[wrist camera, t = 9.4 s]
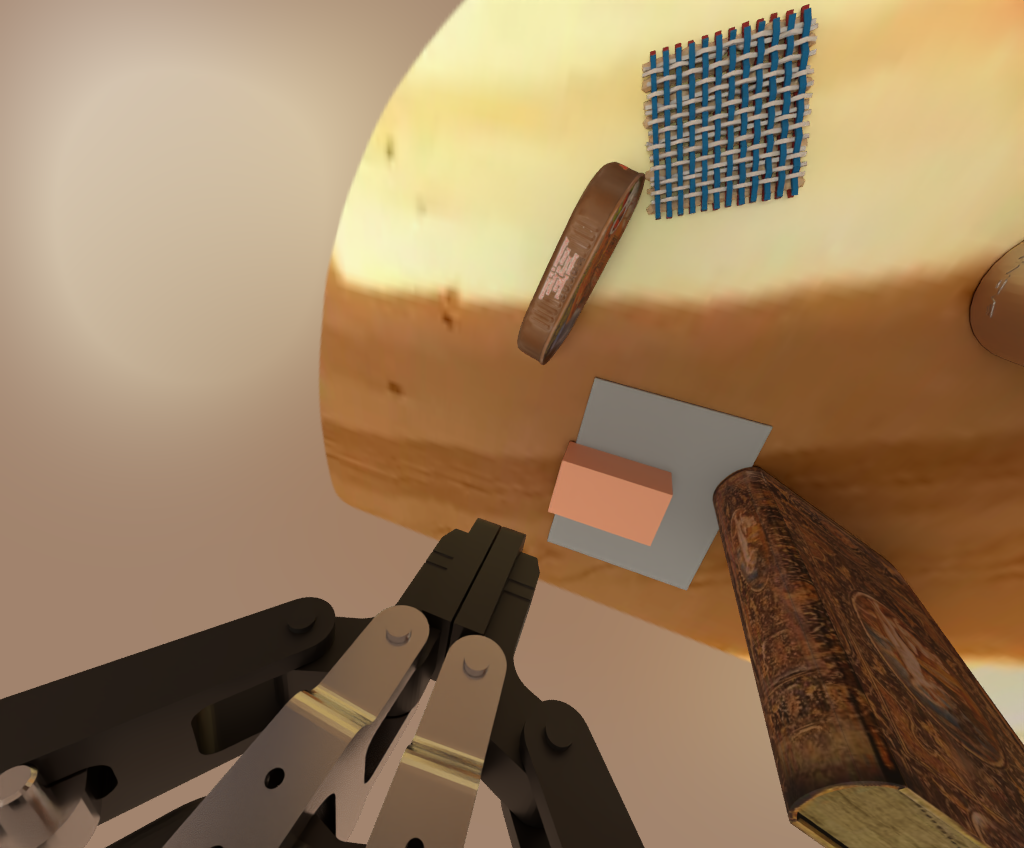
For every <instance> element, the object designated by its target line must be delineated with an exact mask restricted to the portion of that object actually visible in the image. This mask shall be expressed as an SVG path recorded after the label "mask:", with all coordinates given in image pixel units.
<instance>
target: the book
mask: <svg viewBox="0 0 1024 848" xmlns="http://www.w3.org/2000/svg"><path fill="white" fill-rule="evenodd" d="M713 505H714V509H715V513H716V517H717V522H718V526H719V530H720V534H721V538H722V542H723V547H724V551H725V555H726V559H727V563H728V567H729V572H730V576H731V580H732V584H733V588H734V592H735V597H736V601H737V605H738V609H739V613H740V617H741V622H742V626H743V630H744V634H745V638H746V642H747V647H748V651H749V655H750V659H751V663H752V667H753V672H754V676H755V680H756V684H757V688H758V692H759V696H760V701H761V705H762V709H763V713H764V717H765V722H766V726H767V729H768V734H769V738H770V742H771V747H772V750H773V755H774V759H775V763H776V767H777V772H778V775H779V780H780V784H781V788H782V792H783V797H784V801H785V804H786V809H787V813H788V817H789V821H790V823H791V824H792V825H794V826H795V827H797V828H798V829H799V830H801V831H802V832H804V833H805V834H807V835H808V836H810V837H811V838H812V839H814V840H815V841H817V842H818V843H819V844H821V845H822V846H824V847H825V848H1024V745H1023V743H1022V742H1021V740H1020V739H1019V738H1018V736H1017V735H1016V734H1015V732H1014V731H1013V729H1012V728H1011V727H1010V725H1009V724H1008V722H1007V721H1006V720H1005V718H1004V717H1003V715H1002V714H1001V713H1000V711H999V710H998V709H997V707H996V706H995V704H994V703H993V702H992V700H991V699H990V697H989V696H988V695H987V693H986V692H985V690H984V689H983V688H982V686H981V685H980V684H979V682H978V681H977V679H976V678H975V677H974V675H973V674H972V672H971V671H970V670H969V668H968V667H967V665H966V664H965V663H964V661H963V660H962V659H961V657H960V656H959V654H958V653H957V652H956V650H955V649H954V647H953V646H952V645H951V643H950V642H949V640H948V639H947V638H946V636H945V635H944V634H943V632H942V631H941V629H940V628H939V627H938V625H937V624H936V622H935V621H934V620H933V618H932V617H931V615H930V614H929V613H928V611H927V610H926V609H925V607H924V606H923V604H922V603H921V602H920V600H919V599H918V597H917V596H916V595H915V593H914V592H913V590H912V589H911V588H910V586H909V585H908V584H907V582H906V581H905V580H904V578H903V577H902V576H901V575H900V573H899V572H898V571H897V570H896V569H895V568H894V566H893V565H891V564H890V563H889V562H888V561H887V560H886V559H884V558H883V557H881V556H880V555H879V554H877V553H876V552H875V551H873V550H872V549H871V548H869V547H868V546H867V545H865V544H864V543H863V542H861V541H860V540H859V539H857V538H856V537H854V536H853V535H852V534H850V533H849V532H848V531H846V530H845V529H843V528H842V527H841V526H839V525H838V524H837V523H835V522H834V521H832V520H831V519H830V518H828V517H827V516H826V515H824V514H823V513H821V512H820V511H819V510H817V509H816V508H814V507H813V506H812V505H810V504H809V503H808V502H806V501H805V500H803V499H802V498H801V497H799V496H798V495H797V494H795V493H794V492H792V491H791V490H790V489H788V488H787V487H786V486H784V485H783V484H781V483H780V482H779V481H777V480H776V479H774V478H773V477H772V476H770V475H769V474H768V473H766V472H765V471H763V470H762V469H761V468H760V467H747V468H743V469H740V470H737V471H735V472H733V473H732V474H730V475H729V476H727V477H726V478H725V479H724V480H722V481H721V482H720V484H719V485H718V486H717V487H716V489H715V491H714V493H713Z"/></svg>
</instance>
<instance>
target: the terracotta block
mask: <svg viewBox="0 0 1024 848" xmlns="http://www.w3.org/2000/svg"><path fill="white" fill-rule="evenodd" d="M672 496H673V490H672V474H671V472H668V471H665V470H661V469H658V468H655V467H652V466H648V465H645V464H642V463H639V462H636V461H632V460H629V459H626V458H623V457H619V456H616V455H613V454H610V453H606V452H603V451H600V450H597V449H593V448H590V447H587V446H584V445H580V444H577V443H574V442H571V441H570V442H569V445H568V447H567V450H566V453H565V455H564V458H563V460H562V464H561V467H560V471H559V474H558V478H557V481H556V485H555V488H554V492H553V495H552V499H551V502H550V506H549V509H548V512H551V513H554V514H557V515H560V516H563V517H566V518H568V519H571V520H574V521H577V522H580V523H583V524H586V525H589V526H592V527H595V528H598V529H601V530H604V531H606V532H609V533H612V534H615V535H618V536H621V537H624V538H627V539H630V540H633V541H636V542H639V543H642V544H644V545H647V546H651V544H652V541H653V539H654V537H655V535H656V532H657V530H658V528H659V526H660V523H661V521H662V519H663V517H664V514H665V512H666V510H667V508H668V505H669V503H670V501H671V499H672Z"/></svg>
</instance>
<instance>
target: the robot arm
mask: <svg viewBox="0 0 1024 848" xmlns="http://www.w3.org/2000/svg"><path fill="white" fill-rule="evenodd" d="M970 322H971V326H972V329H973V332H974V335H975V336H976V338H977V339H978V341H979V342H980V344H981V345H982V346H984V347H985V348H986V349H987V350H989V351H990V352H991V353H993V354H995V355H997V356H999V357H1002V358H1004V359H1006V360H1009V361H1011V362H1014V363H1016V364H1019V365H1022V366H1024V241H1023V242H1022V243H1020V244H1019V245H1017V246H1016V247H1014V248H1013V249H1011V250H1010V251H1009V252H1007V253H1006V254H1005V255H1004V256H1003V257H1002V258H1001V259H1000V260H999V261H997V262H996V263H995V264H994V265H993V267H992V268H991V269H990V270H989V272H988V273H987V274H986V275H985V277H984V278H983V279H982V281H981V283H980V285H979V286H978V288H977V290H976V292H975V294H974V298H973V301H972V305H971V308H970ZM525 538H526V534H523V533H520V532H517V531H515V530H512V529H509V528H506V527H501V526H500V525H497V524H494V523H492V522H489V521H486V520H483V519H480V518H478V519H477V520H476V522H475V523H474V525H473V527H472V528H471V530H470V532H469V533H467V532H464V531H461V530H458V529H455V530H453V531H451V532H450V533H448V534H447V535H445V536H443V537H442V538H441V540H440V541H439V543H438V544H437V546H436V547H435V549H434V550H433V552H432V553H431V554H430V556H429V557H428V559H427V560H426V563H424V565H423V566H422V567H421V569H420V570H419V572H418V573H417V575H416V576H415V578H414V579H413V581H412V582H411V584H410V585H409V587H408V588H407V589H406V591H405V593H404V594H403V595H402V597H401V598H400V600H399V602H397V604H396V605H395V606H392V607H389V608H386V609H385V610H383V611H381V612H380V613H378V614H377V615H376V616H375V617H372V618H365V619H358V618H345V617H335V613H334V610H333V608H332V607H331V605H330V604H329V603H328V602H326V601H324V600H322V599H319V598H313V597H306V598H301V599H296V600H293V601H290V602H287V603H284V604H281V605H279V606H275V607H273V608H270V609H266V610H264V611H260V612H258V613H255V614H252V615H249V616H246V617H243V618H240V619H237V620H234V621H231V622H228V623H225V624H222V625H219V626H216V627H213V628H210V629H207V630H205V631H201V632H198V633H196V634H192V635H189V636H187V637H184V638H181V639H178V640H175V641H172V642H169V643H166V644H163V645H160V646H157V647H154V648H151V649H148V650H145V651H142V652H139V653H136V654H134V655H130V656H127V657H125V658H121V659H118V660H116V661H113V662H110V663H107V664H104V665H101V666H98V667H95V668H92V669H89V670H86V671H83V672H80V673H77V674H75V675H71V676H68V677H65V678H63V679H59V680H56V681H53V682H50V683H48V684H45V685H42V686H39V687H36V688H33V689H30V690H27V691H24V692H21V693H18V694H15V695H12V696H9V697H6V698H4V699H1V700H0V848H84V847H85V845H86V844H87V843H88V841H89V840H90V838H91V837H92V835H93V833H94V831H95V829H96V827H97V826H98V825H100V824H102V823H104V822H106V821H108V820H110V819H112V818H114V817H116V816H118V815H120V814H122V813H124V812H126V811H128V810H130V809H132V808H134V807H136V806H139V805H141V804H143V803H145V802H146V801H149V800H150V799H152V798H154V797H157V796H159V795H161V794H163V793H165V792H167V791H169V790H171V789H173V788H175V787H177V786H179V785H181V784H183V783H185V782H187V781H189V780H191V779H193V778H195V777H197V776H199V775H201V774H203V773H205V772H207V771H209V770H211V769H213V768H215V767H218V766H220V765H221V764H223V763H226V762H228V761H230V760H232V759H234V758H236V757H237V756H240V755H242V754H243V755H242V756H241V757H240V758H239V759H238V760H237V761H236V763H235V764H234V765H233V766H232V767H231V769H230V770H229V771H228V772H227V773H226V774H225V775H224V777H223V778H222V779H221V780H220V781H219V782H218V784H217V785H216V786H215V787H214V788H213V789H212V790H211V792H210V793H209V794H208V795H207V796H205V797H202V798H199V799H197V800H194V801H192V802H189V803H187V804H185V805H183V806H181V807H179V808H177V809H175V810H173V811H171V812H169V813H167V814H166V815H164V816H162V817H160V818H158V819H156V820H155V821H153V822H151V823H149V824H147V825H146V826H144V827H142V828H140V829H139V830H137V831H135V832H133V833H131V834H129V835H127V836H126V837H124V838H122V839H120V840H118V841H117V842H115V843H113V844H111V845H110V846H107V847H106V848H464V844H465V839H466V835H467V831H468V827H469V823H470V818H471V815H472V811H473V806H474V803H475V799H476V795H477V791H478V786H479V782H480V779H481V780H482V781H483V782H484V783H485V784H486V785H487V786H488V787H489V788H490V789H491V790H492V791H493V793H494V794H495V795H496V796H497V797H498V798H499V799H500V800H501V806H502V811H503V815H504V818H505V822H506V825H507V829H508V833H509V836H510V840H511V843H512V847H513V848H644V846H643V844H642V841H641V839H640V837H639V835H638V833H637V831H636V829H635V826H634V824H633V822H632V820H631V818H630V816H629V814H628V811H627V809H626V807H625V805H624V803H623V801H622V799H621V797H620V794H619V792H618V790H617V788H616V786H615V784H614V782H613V780H612V777H611V775H610V773H609V771H608V769H607V767H606V764H605V762H604V760H603V758H602V756H601V754H600V752H599V750H598V747H597V745H596V743H595V741H594V739H593V737H592V735H591V732H590V730H589V728H588V726H587V724H586V723H585V721H584V719H583V718H582V716H581V715H580V714H579V713H578V712H577V711H576V710H575V709H574V708H573V707H571V706H570V705H568V704H566V703H564V702H561V701H557V700H547V701H543V702H542V701H541V700H540V699H539V698H538V697H537V696H535V695H534V694H533V693H532V692H531V691H530V690H529V689H528V688H527V687H526V686H524V684H523V683H522V682H521V680H520V679H519V677H518V675H517V673H516V670H515V667H514V662H513V661H514V660H513V657H514V653H515V651H516V647H517V644H518V641H519V638H520V635H521V632H522V629H523V626H524V623H525V620H526V617H527V614H528V611H529V608H530V605H531V601H532V597H533V594H534V591H535V588H536V584H537V581H538V577H539V574H540V572H539V566H538V560H537V558H536V557H533V556H530V555H528V554H525V553H522V550H523V546H524V542H525ZM430 679H432V680H434V681H436V683H435V686H434V689H433V691H432V693H431V696H430V698H429V701H428V704H427V706H426V709H425V711H424V714H423V716H422V719H421V721H420V724H419V727H418V729H417V732H416V734H415V737H414V739H413V741H412V743H411V744H410V745H409V746H408V747H407V748H406V750H405V752H404V754H403V757H402V759H401V761H400V763H399V766H398V768H397V771H396V773H395V776H394V778H393V781H392V783H391V786H390V788H389V791H388V793H387V796H386V798H385V801H384V803H383V805H382V808H381V810H380V813H379V815H378V818H377V820H376V823H375V825H374V828H373V831H372V833H371V835H370V838H369V840H368V843H367V845H366V844H357V843H350V842H347V840H348V838H349V837H350V835H351V833H352V831H353V829H354V827H355V825H356V823H357V821H358V819H359V816H360V814H361V811H362V809H363V806H364V803H365V800H366V798H367V796H368V794H369V791H370V790H371V788H372V786H373V784H374V782H375V780H376V779H377V777H378V775H379V774H380V772H381V770H382V769H383V767H384V765H385V763H386V762H387V760H388V758H389V756H390V755H391V753H392V751H393V750H394V748H395V746H396V744H397V743H398V741H399V739H400V738H401V736H402V734H403V732H404V731H405V729H406V727H407V725H408V724H409V722H410V720H411V719H412V717H413V715H414V713H415V711H416V710H417V707H418V704H419V700H420V698H421V696H422V694H423V692H424V690H425V688H426V686H427V684H428V682H429V680H430Z"/></svg>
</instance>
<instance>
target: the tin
mask: <svg viewBox="0 0 1024 848" xmlns="http://www.w3.org/2000/svg"><path fill="white" fill-rule="evenodd" d="M644 181H645V174H644V173H638V172H636V171H633V170H631V169H630V168H628V167H626V166H624V165H622V164H620V163H617V162H612V163H608V164H606V165H604V166H603V167H602V168H601V169H600V170H599V171H598V172H597V173H596V175H595V176H594V177H593V179H592V180H591V181H590V183H589V184H588V186H587V188H586V189H585V191H584V192H583V194H582V196H581V198H580V200H579V201H578V203H577V205H576V207H575V209H574V211H573V213H572V215H571V217H570V219H569V221H568V223H567V225H566V228H565V230H564V232H563V234H562V236H561V238H560V240H559V242H558V244H557V246H556V249H555V251H554V253H553V255H552V257H551V259H550V261H549V264H548V266H547V268H546V270H545V273H544V275H543V277H542V279H541V281H540V283H539V285H538V288H537V290H536V292H535V294H534V296H533V299H532V301H531V303H530V305H529V308H528V310H527V312H526V314H525V317H524V319H523V322H522V325H521V328H520V331H519V335H518V340H517V344H518V348H519V349H520V350H521V351H522V352H524V353H525V354H527V355H529V356H530V357H532V358H534V359H536V360H537V361H539V362H540V363H541V364H542V365H545V364H546V363H547V362H548V361H549V360H550V359H551V358H552V356H553V355H554V354H555V352H556V351H557V350H558V348H559V347H560V346H561V344H562V343H563V341H564V340H565V338H566V337H567V335H568V334H569V332H570V330H571V329H572V327H573V325H574V323H575V321H576V320H577V318H578V316H579V314H580V313H581V311H582V309H583V307H584V305H585V303H586V301H587V299H588V298H589V296H590V294H591V292H592V290H593V288H594V286H595V284H596V283H597V281H598V279H599V277H600V275H601V273H602V271H603V270H604V268H605V266H606V264H607V262H608V260H609V258H610V256H611V255H612V253H613V251H614V249H615V247H616V245H617V243H618V241H619V240H620V238H621V236H622V234H623V232H624V230H625V228H626V226H627V224H628V222H629V220H630V218H631V216H632V213H633V211H634V209H635V207H636V205H637V202H638V200H639V197H640V195H641V192H642V189H643V185H644Z"/></svg>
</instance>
